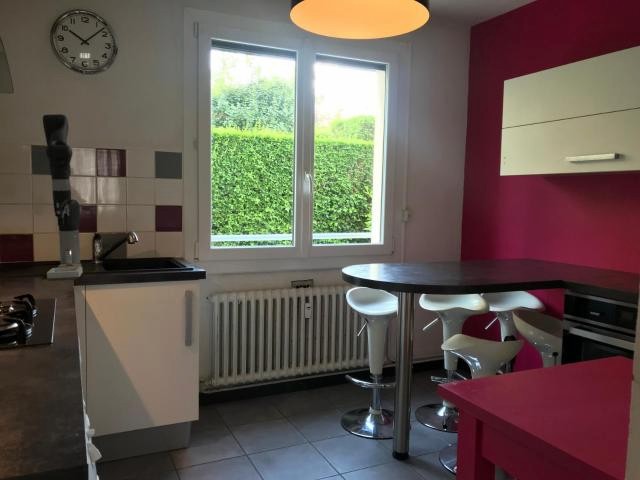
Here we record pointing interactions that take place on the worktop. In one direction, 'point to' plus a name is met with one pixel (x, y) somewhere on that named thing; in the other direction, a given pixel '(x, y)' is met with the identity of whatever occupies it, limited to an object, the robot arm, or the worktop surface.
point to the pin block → (69, 266)
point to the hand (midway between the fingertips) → (63, 225)
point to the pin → (68, 257)
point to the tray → (64, 273)
